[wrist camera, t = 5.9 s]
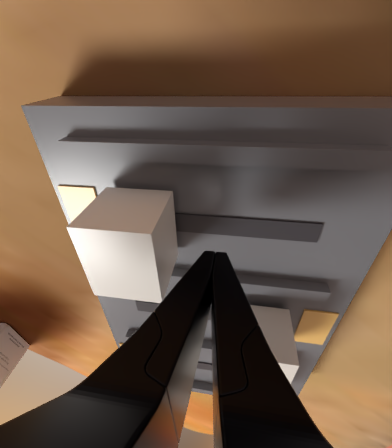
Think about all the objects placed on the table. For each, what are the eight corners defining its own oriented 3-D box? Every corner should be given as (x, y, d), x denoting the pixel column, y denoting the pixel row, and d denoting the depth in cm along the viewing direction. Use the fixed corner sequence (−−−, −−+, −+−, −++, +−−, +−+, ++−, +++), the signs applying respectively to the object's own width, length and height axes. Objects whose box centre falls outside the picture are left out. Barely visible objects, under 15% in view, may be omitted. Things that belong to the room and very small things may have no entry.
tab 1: (172, 190, 10) (151, 234, 8) (178, 254, 12) (162, 303, 10) (106, 187, 11) (66, 227, 8) (122, 248, 13) (94, 295, 10)
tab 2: (289, 309, 13) (299, 366, 11) (277, 343, 16) (284, 397, 13) (234, 302, 14) (232, 356, 11) (230, 337, 16) (228, 388, 14)
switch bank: (412, 96, 9) (474, 112, 7) (288, 375, 23) (293, 414, 21) (60, 95, 11) (9, 108, 9) (139, 352, 25) (128, 385, 23)
